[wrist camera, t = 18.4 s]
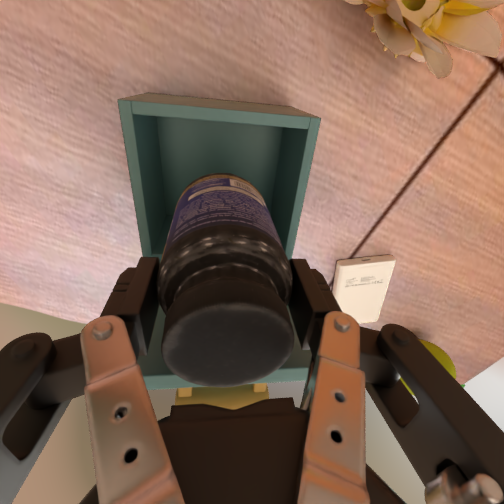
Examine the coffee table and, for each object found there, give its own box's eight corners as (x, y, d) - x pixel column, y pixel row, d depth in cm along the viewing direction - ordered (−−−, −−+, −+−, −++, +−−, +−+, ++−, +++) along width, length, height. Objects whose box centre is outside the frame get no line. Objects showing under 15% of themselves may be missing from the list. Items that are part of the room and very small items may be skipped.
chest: (147, 92, 24) (117, 99, 17) (291, 106, 26) (321, 117, 19) (160, 217, 31) (143, 261, 23) (274, 221, 33) (290, 262, 25)
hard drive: (326, 320, 44) (336, 260, 37) (373, 314, 45) (391, 254, 38) (330, 327, 43) (340, 266, 36) (378, 321, 43) (398, 260, 36)
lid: (54, 380, 10) (74, 469, 12) (370, 364, 12) (351, 442, 14) (141, 260, 23) (145, 312, 25) (292, 261, 25) (286, 309, 27)
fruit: (397, 326, 47) (435, 379, 39) (438, 330, 49) (483, 381, 41) (372, 357, 52) (401, 411, 44) (410, 360, 54) (446, 411, 46)
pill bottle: (158, 193, 17) (92, 329, 8) (245, 153, 16) (283, 252, 7) (204, 262, 20) (195, 414, 11) (277, 232, 20) (332, 368, 10)
